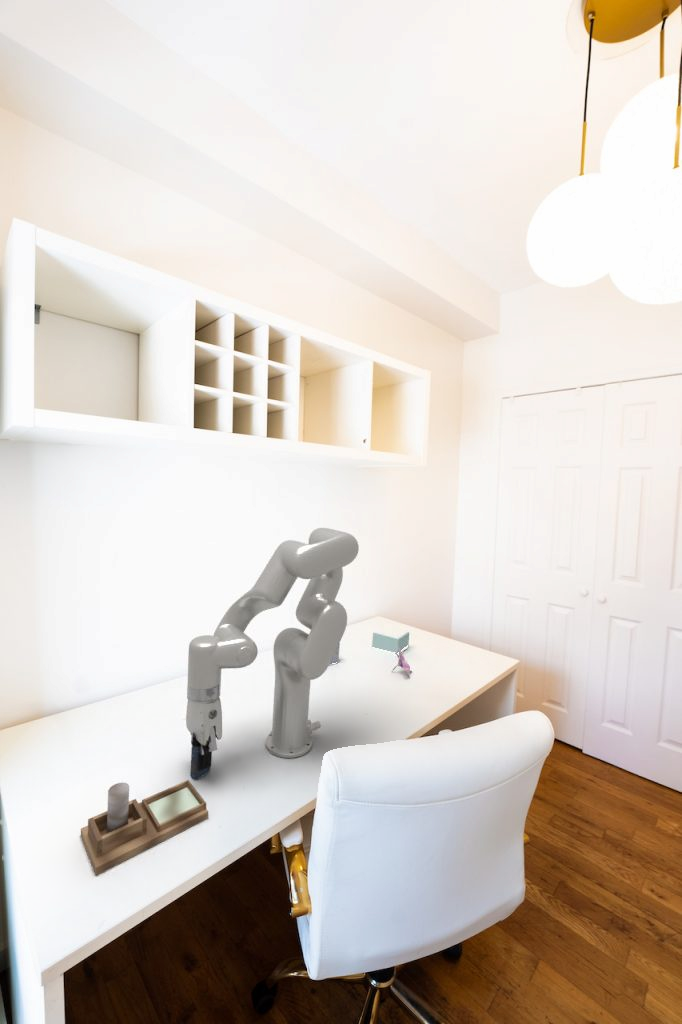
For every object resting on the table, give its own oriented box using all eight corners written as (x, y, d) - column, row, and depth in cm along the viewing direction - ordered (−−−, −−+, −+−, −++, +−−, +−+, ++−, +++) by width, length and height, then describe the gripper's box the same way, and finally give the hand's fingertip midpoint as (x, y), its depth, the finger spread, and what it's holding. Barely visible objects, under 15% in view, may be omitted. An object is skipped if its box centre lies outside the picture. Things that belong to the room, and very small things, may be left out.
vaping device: (187, 776, 102) (190, 728, 101) (206, 765, 107) (208, 719, 105) (194, 781, 101) (196, 733, 100) (212, 770, 105) (215, 723, 104)
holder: (185, 788, 98) (187, 744, 98) (207, 818, 90) (210, 770, 90) (80, 835, 84) (81, 784, 83) (95, 875, 76) (97, 819, 75)
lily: (398, 686, 158) (413, 665, 158) (376, 664, 165) (390, 644, 164) (411, 685, 168) (425, 665, 167) (389, 664, 175) (402, 645, 174)
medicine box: (317, 658, 175) (319, 637, 175) (326, 656, 178) (327, 635, 178) (329, 665, 169) (331, 644, 169) (338, 663, 172) (340, 642, 172)
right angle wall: (408, 648, 193) (409, 632, 192) (396, 656, 183) (398, 639, 182) (383, 641, 199) (385, 625, 199) (371, 649, 189) (373, 632, 188)
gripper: (235, 698, 99) (232, 775, 100) (203, 673, 110) (201, 742, 112) (204, 709, 94) (201, 790, 95) (174, 681, 105) (172, 753, 107)
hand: (201, 763), depth 103 cm, fingers closed on vaping device, 2 cm apart
